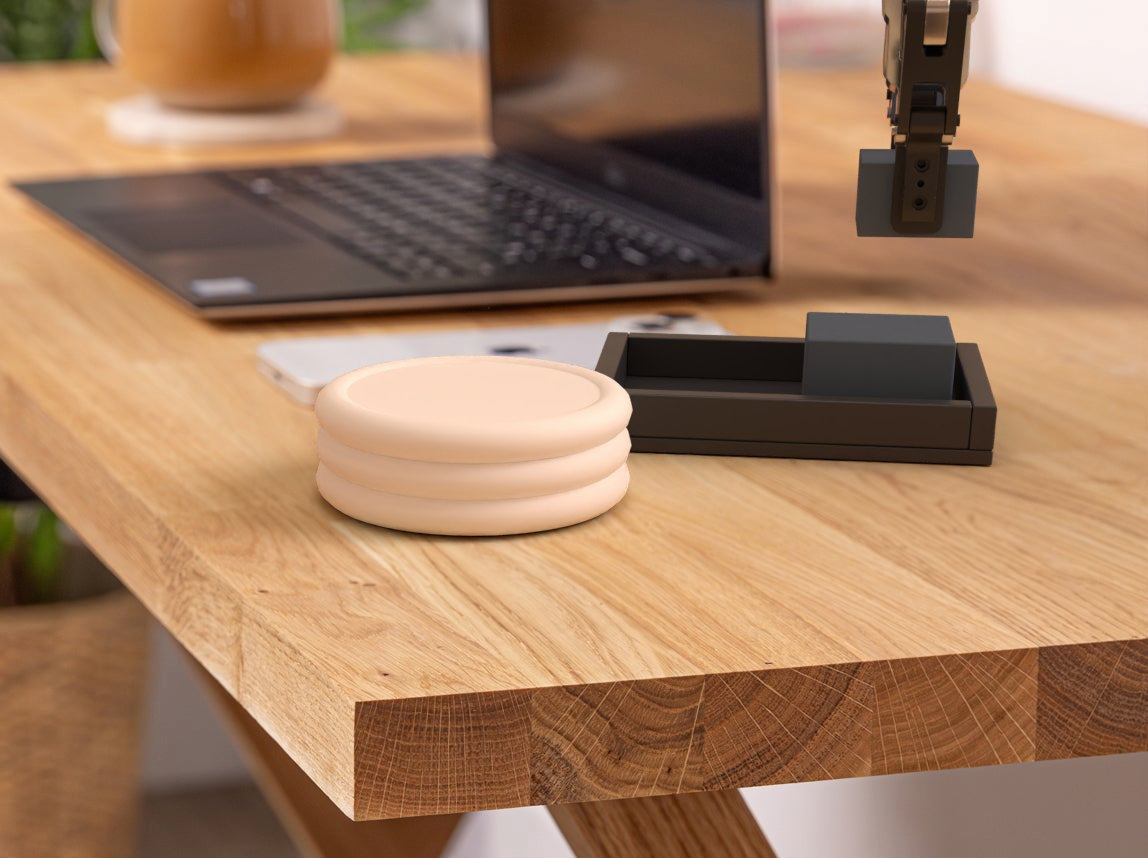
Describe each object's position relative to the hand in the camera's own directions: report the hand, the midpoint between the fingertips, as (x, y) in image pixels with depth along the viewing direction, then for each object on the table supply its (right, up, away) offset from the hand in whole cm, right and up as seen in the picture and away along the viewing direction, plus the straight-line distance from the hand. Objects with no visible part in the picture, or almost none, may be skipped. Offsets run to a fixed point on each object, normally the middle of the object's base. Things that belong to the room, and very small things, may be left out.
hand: (913, 220), depth 101 cm
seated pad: (-6, -12, -21) cm, 25 cm away
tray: (-9, -12, -21) cm, 26 cm away
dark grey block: (0, 0, 0) cm, 0 cm away
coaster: (-21, -16, -29) cm, 39 cm away
